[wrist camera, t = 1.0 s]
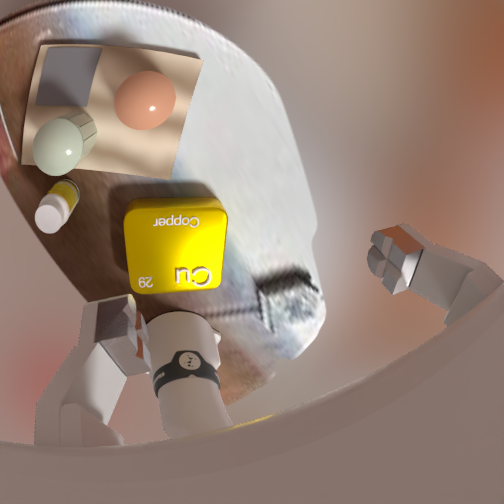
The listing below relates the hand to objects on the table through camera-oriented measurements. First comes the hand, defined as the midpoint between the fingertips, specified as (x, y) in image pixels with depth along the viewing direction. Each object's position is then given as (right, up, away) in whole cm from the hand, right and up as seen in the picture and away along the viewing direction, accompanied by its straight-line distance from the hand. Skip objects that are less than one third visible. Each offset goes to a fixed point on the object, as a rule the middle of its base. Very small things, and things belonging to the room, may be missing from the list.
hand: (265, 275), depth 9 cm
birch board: (-20, +20, +20) cm, 34 cm away
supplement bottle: (-27, +9, +25) cm, 38 cm away
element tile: (-13, +3, +35) cm, 38 cm away
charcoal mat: (-24, +23, +15) cm, 36 cm away
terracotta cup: (-13, +20, +21) cm, 32 cm away
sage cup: (-23, +16, +20) cm, 34 cm away
